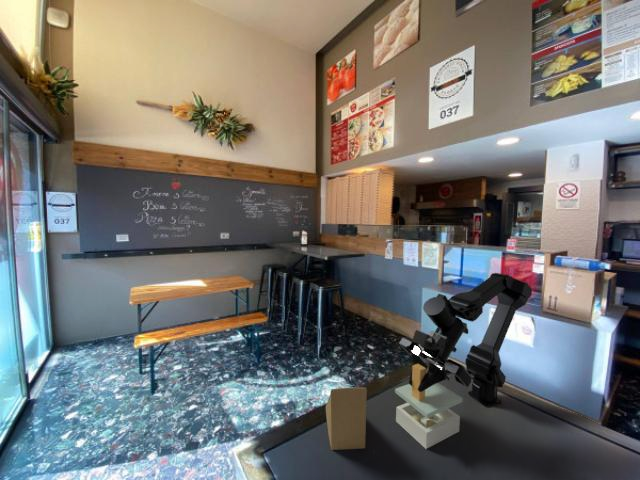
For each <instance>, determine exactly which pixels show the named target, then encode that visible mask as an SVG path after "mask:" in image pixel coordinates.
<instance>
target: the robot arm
mask: <svg viewBox="0 0 640 480" xmlns="http://www.w3.org/2000/svg"><path fill="white" fill-rule="evenodd" d="M532 295H533V289H532V287H531V286H530V285H529V283H528V282H525V281H521V280H518V279H516V278H515V277H513V276H512V275H509V274H505V273H499V272H494V273H491V274H490V276H489V277H488V278H487V279H485V280H484V281H483V282H481V283H479V284H478V285H477V286H476V287H474V288H473V289H471V290H470V291H466V292H464V291H463V292H459V293H456V294H455V295H452V296H451V297H450V298H449V299H448V297H447V295H445V294H441V293H438V294H437V295H436V296H434V297H431V298H428V299H427V300H426V301H425V302H424V304H423V306H422V307H423V308H422V309H423V312H424V313H425V314H426V315H427V317H428V318H429V319H430V320H431V322H432V323H433V324H434V325H435V326H436V327H437V328H436V329H435V331H433V330H431V331H429V332H428V333H425V332H424V331H423V332H422V331H421V330H418V329H416V330H415V332H414V333H413V334H414V335H413V337H412V338H410V337H407V336H403V337H402V338H401V339H400V341H399V342H398V344H399V345H400V346H401V347H402V348H403V349H404V350H405V351H406V353H408V355H411V359H412V364H411V365H412V366H413V365H416V364H420V365H421V366H423V367H425V368H426V370H427V369H428V370H427V371H426V375H425V377H424V378H423V380H422V381H421V383H420V385H419V387H418V391H419V392H422V391H424V390H425V389H427V388H429V387H431V386H432V385H434V384H436V383H439V384H440V383H441V382H443V381H445V380H447V381H448V382H449V381H450V380H451V378H450V376H451V375H453V376H454V378H455V382H456V383H458V384H460V385H461V386H463V387H466V388H469V386H470V385H471V390H469V391H468V392H467V394H468V395H469V396H471V397H472V398H473V399H475V400H476V401H477V402H478V403H480V404H481V405H483V406H484V407H489V406H493V405H497V404H502V403H503V401H502V399H501V398H499V397H498V388H503V387H504V385H505V382H506V379H507V376H506V375H505V374H504V372H503V371H502V369H501V367H502V361H501V356H500V352H501V351H500V350H501V348H502V346H503V343H504V340H505V338H506V335H507V333H508V330H509V328H510V326H511V323H512V321H513V319H514V317H515V313H516V311H517V310H519V309H521V308H522V307H524V306H526V304H527V302H528V301H529V299H530V298H531V297H532ZM496 296H497V297H496ZM494 298H497V301H498V302H497V305H496V307H495V310H494V312H493V315H492V317H491V320H490V322H489V324H488V327H487V329H486V331H485V333H484V335H483V338H482V340H481V342H480V343H479V344H477V345H474V344H473V345H472V346H470V349H469V352H468V354H466V358H465V360H464V361H465V366H466V368H465V366H463V365H462V364H460V363H458V362H456V361H454V360H452V359H449V357H450V355H451V354H452V352H453V353H456V352H457V348H456V345H457V343H458V342H459V340H460V338H461V337H462V335H463V334H465V335H468V334H469V329H468V323H467V322H463V320H465V321H468V322H471V323H473V322H475V321H476V320H478V318H479V317H480V316H481V315H482V314H483V313H484V311H483V310H484V308H483V307H485V305H486V304H487V303H489V302H490V301H491V300H492V299H494ZM462 319H463V320H462ZM427 361H428V363H429V364H428V365H427V364H426V362H427ZM409 375H410V376H409V380H408V384H410V385H411V386H412V369H411V372H410V374H409Z"/></svg>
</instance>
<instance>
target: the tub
mask: <svg viewBox="0 0 640 480" xmlns="http://www.w3.org/2000/svg"><path fill="white" fill-rule="evenodd" d="M395 410H396V411H395V416H396V417H395V422H396V423H397V424H398V425H399V426H400V427H402V428H403V429H404V430H405V431H406V432H407V433H408V434H409V435H410V436H411V437H412V438H414V440H415V441H417V442H418V443H419V444H420V445H421V446H422V447H423V448H425V450H427V449H430V448H431V447H433V446H435V445H437V444H439V443H440V442H442V441H444V440H445V439H447V438H449V437H451V436H453V435H455V434H457V433H460V423H461V419H460V418H461V415H459V414H457V413H456V412H454V411H453V410H451V409H450V408H448V409H446V410H444V411H442V412H439V413H437V414H435V415H433V416H431V417H429V418H426V417H425V416H424V415H423V414H421V413H420V412H419V411H418V410H416V409H415V408H414V407H413V406H411V405H410V404H409V403H408V402H405V403H403V404H400V405H398V406H396V409H395Z"/></svg>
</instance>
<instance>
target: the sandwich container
mask: <svg viewBox="0 0 640 480" xmlns="http://www.w3.org/2000/svg"><path fill="white" fill-rule="evenodd" d="M367 393H368V390H367V387H340V388H331V389H330V394H329V397H328V400H327V402H326V405H325V416H326V425H327V434H328V439H329V445H330V450H331V451H334V450H335V451H339V450H356V449H357V450H359V449H366V433H367V432H366V431H367V430H366V429H367V428H366V426H367V423H366V422H367V396H368V394H367Z"/></svg>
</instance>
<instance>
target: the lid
mask: <svg viewBox="0 0 640 480" xmlns="http://www.w3.org/2000/svg"><path fill="white" fill-rule="evenodd" d="M411 370H412V386H411V385H410V384H409V383H408V384H405V385H402V386H399V387H397V388H394V393H395V394H396V395H397V396H399V397H400V398H401V399H402V400H403V401H405V403H407V402H408V403H409V404H410V405H411V406H413V407H414V408H415V409H416V410H418V411H419V412H420V413H421V414H423V415H424V416H425V417H426V418H429V417H431V416H433V415H435V414H437V413H439V412H442V411H444V410H446V409H448V408H449V409H450V408H452V407H456V406H457V405H458V404H461V403H463V397H462V396H459V395H458V394H457V393H455V392H453V391H452V390H450V389H449V388H447V387H445V385H442V384H440V382H439V383H436V384H434V385H432V386H431V387H429V388H427V389H425V390H424V391H422V392H419V391H418V387H419V385H420V383H421V381H422V380H423V378H424V377H425V375H426V373H427V369H426V368H425V367H423V366H421V365H420V364H416V365H413V366H412V367H411Z"/></svg>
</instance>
